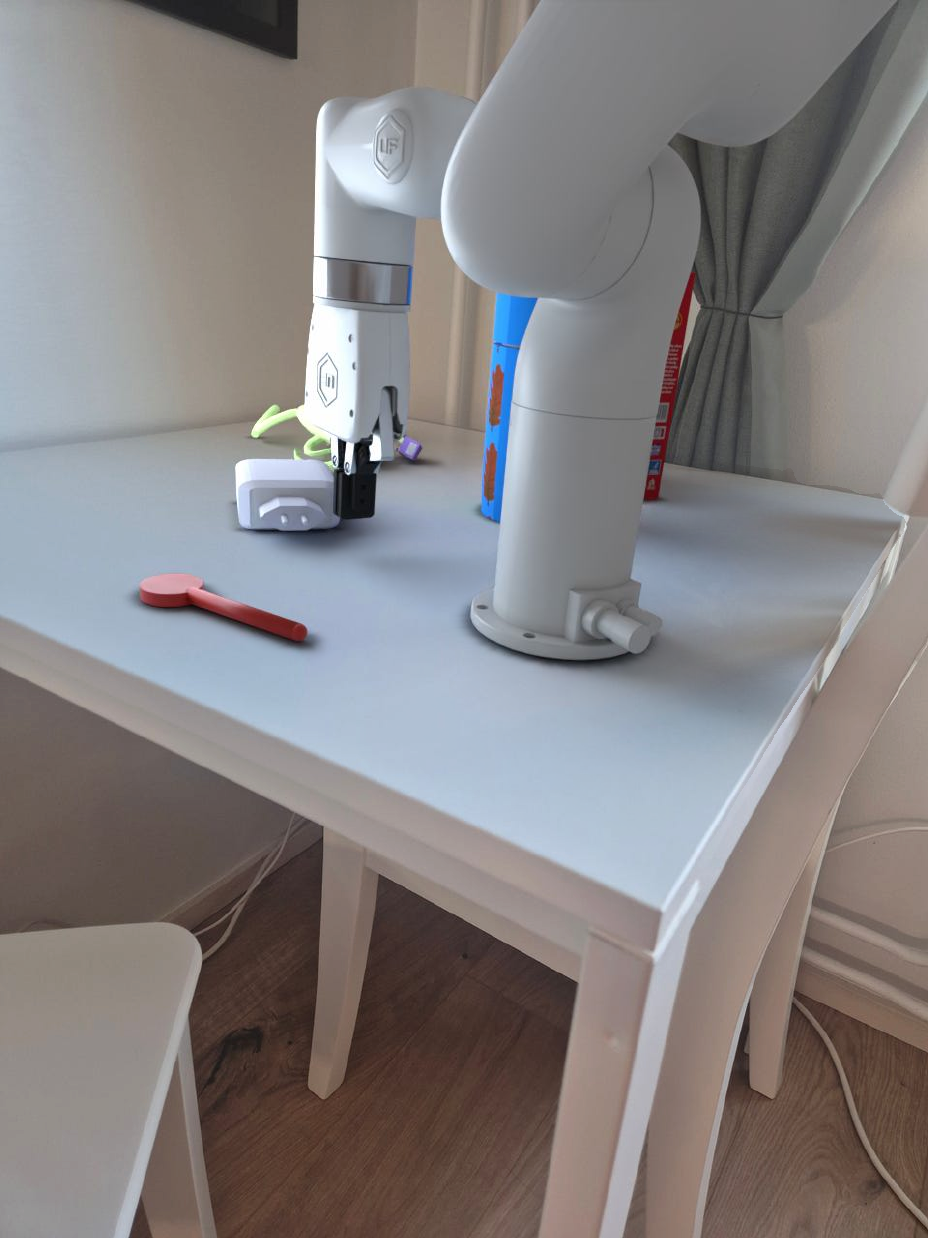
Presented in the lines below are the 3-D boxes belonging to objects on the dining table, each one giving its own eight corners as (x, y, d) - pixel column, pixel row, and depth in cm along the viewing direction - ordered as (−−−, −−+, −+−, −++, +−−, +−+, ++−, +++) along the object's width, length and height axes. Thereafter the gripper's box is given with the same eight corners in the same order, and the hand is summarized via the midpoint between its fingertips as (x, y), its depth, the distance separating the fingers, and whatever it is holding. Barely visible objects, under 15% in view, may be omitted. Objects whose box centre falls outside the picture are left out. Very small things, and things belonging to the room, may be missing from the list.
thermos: (576, 534, 83) (611, 261, 73) (471, 521, 84) (491, 253, 75) (583, 508, 93) (615, 264, 83) (489, 496, 94) (509, 256, 85)
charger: (241, 551, 71) (236, 504, 84) (349, 550, 74) (328, 504, 87) (239, 497, 69) (235, 458, 82) (350, 497, 72) (328, 459, 85)
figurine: (367, 430, 126) (368, 393, 124) (446, 470, 105) (449, 425, 103) (245, 433, 118) (244, 392, 116) (304, 476, 96) (304, 428, 94)
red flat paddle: (326, 632, 56) (327, 616, 56) (282, 654, 53) (281, 636, 52) (176, 581, 63) (175, 566, 63) (127, 596, 60) (125, 581, 59)
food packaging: (658, 498, 99) (695, 272, 90) (622, 501, 97) (656, 269, 87) (588, 470, 111) (615, 268, 102) (555, 471, 109) (579, 265, 99)
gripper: (279, 276, 68) (278, 495, 75) (364, 293, 57) (353, 548, 64) (361, 282, 72) (353, 490, 79) (456, 299, 61) (436, 538, 68)
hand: (353, 515), depth 71 cm, fingers closed
